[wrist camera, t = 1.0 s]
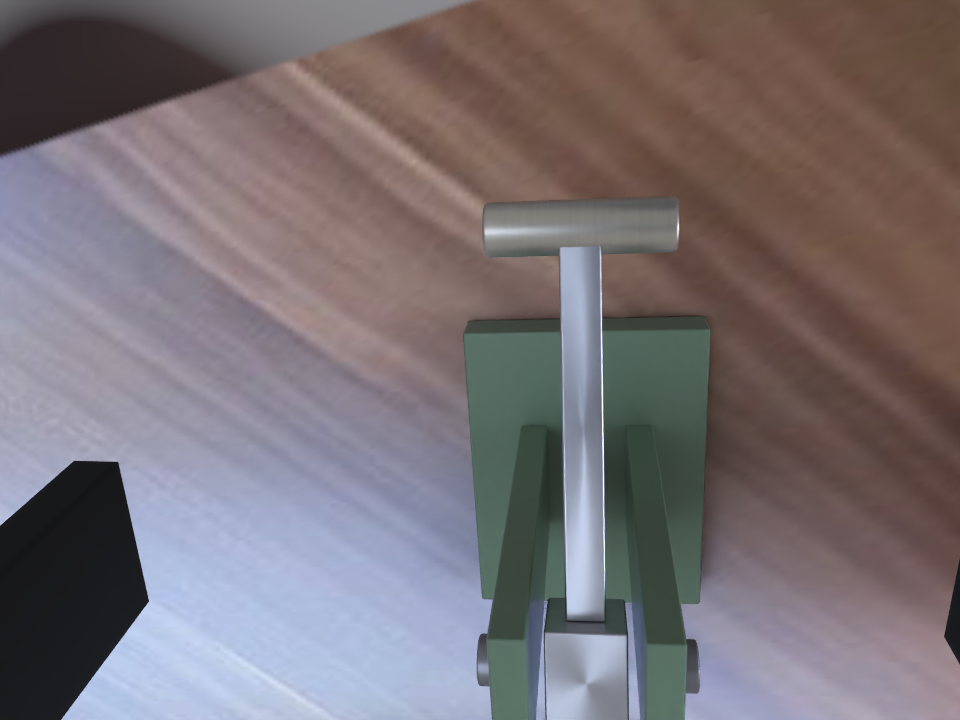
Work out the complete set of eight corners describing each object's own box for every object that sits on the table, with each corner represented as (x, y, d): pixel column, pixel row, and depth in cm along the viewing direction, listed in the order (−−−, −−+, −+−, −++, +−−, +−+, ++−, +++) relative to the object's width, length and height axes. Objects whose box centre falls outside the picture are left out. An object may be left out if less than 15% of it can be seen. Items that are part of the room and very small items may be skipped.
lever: (489, 205, 24) (478, 200, 22) (672, 198, 23) (681, 192, 21) (503, 686, 26) (494, 729, 23) (674, 692, 25) (683, 737, 23)
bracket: (467, 320, 33) (393, 509, 21) (705, 315, 32) (781, 512, 20) (485, 578, 38) (434, 865, 25) (695, 582, 37) (752, 885, 24)
